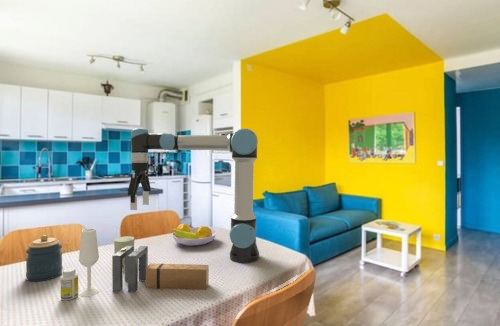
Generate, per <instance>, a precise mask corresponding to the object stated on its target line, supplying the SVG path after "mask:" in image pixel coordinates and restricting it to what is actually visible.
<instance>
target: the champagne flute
mask: <svg viewBox="0 0 500 326" xmlns="http://www.w3.org/2000/svg"><path fill="white" fill-rule="evenodd" d="M80 233H81V234H80V243H79V252H78V262H79V264H80V265H81V266H83V267H85V268H87V269H86V273H87V274H86V275H87V278H86V280H87V283H86V284H87V285H86V288H85V289H83V290H82V291H80V292H78V296H80V297H83V298H84V297H85V298H86V297H92V296H95V295H96V294H98V293H99V292H100V289H99V288H96V287H92V267H93V266H94V265H95V264H96V263H97V262H98V261H99V258H100V254H99V245H98V237H97V230H96V228H84V229H82V230H81V232H80Z"/></svg>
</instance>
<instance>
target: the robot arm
mask: <svg viewBox="0 0 500 326" xmlns="http://www.w3.org/2000/svg"><path fill="white" fill-rule="evenodd" d="M258 142H259V141H258V136H257V134H256V133H255V132H254V131H253V130H251V129H249V128H240V129H238V130H235V132H231V133H229V134H224V135H223V134H219V135H218V134H213V135H212V134H207V135H205V134H202V135H201V134H200V135H199V134H192V135H191V134H187V135H186V134H185V135H184V134H182V135H181V134H180V135H179V134H178V135H177V134H172V133H166V132H164V133H152V132H151V133H150V132H149V130H148V129H146V128H133V129H132V130H131V134H130V146H131V147H130V148H131V154H130V157H131V158H130V159H131V160H130V161H131V162H130V163H131V164H130V165H131V167H130V170H131V171H134V172H131V173H130V179H129V185H128V189H127V195H128V196H129V197H130V200H129V208H130V211H137V210H138V195H137V192H138V190H139V186H140V184H141V187H142V190H143V191H142V205H143V206H144V205H145V206H147V205H149V203H150V199H149V198H150V197H149V195H150V194H149V192H151V184H150V178H149V172H148V171H149V163H148V162H149V150H158V151H159V150H161V151H163V150H164V151H165V150H166V151H229V152H230V153H231V159H232V160H233V161H234V210H233V211H234V213H233V214H232V215H231V216H230V231H229V239H230V242H231V243H232V246H231V249H230V252H229V259H230V260H231V261H233V262H237V263H242V264H243V263H252V262H255V261H258V260H260V250H259V248H258V244H257V214H256V213H255V212H254V209H253V208H254V167H255V166H254V165H255V164H254V163H255V161H256V160H257V158H258Z"/></svg>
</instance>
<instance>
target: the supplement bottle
mask: <svg viewBox="0 0 500 326" xmlns="http://www.w3.org/2000/svg"><path fill="white" fill-rule="evenodd" d="M76 271H77V270H76V268H75V267H69V268H65V269H64V270H62V275H61V276H60V280H59V281H60V282H59V283H60V299H61V300H62V301H71V300H74V299H76V298H77V297H78V296H79V274H78V273H77V272H76Z"/></svg>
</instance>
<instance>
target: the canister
mask: <svg viewBox="0 0 500 326" xmlns="http://www.w3.org/2000/svg"><path fill="white" fill-rule="evenodd" d="M60 242H61V241H60V239H57V238H55V237H49V236H48V235H46V234H43V235H41V236H40V238H38V239H35V240H33V241H31V242H30V243H28V245H27V246H28V248H27V249H26V250H25V253H26V255H27V256H26V257H25V266H26V267H25V268H26V269H25V270H26V272H25V277H26V280H28V281H29V282H41V281H42V282H43V281H47V280H52V279H53V278H54V279H55V278H56V277H58V276H60V275H61V274H63V252H62V248H63V245H62V244H60Z"/></svg>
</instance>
